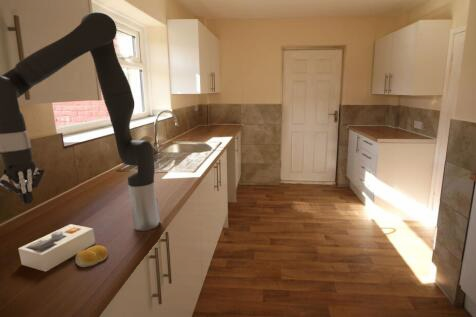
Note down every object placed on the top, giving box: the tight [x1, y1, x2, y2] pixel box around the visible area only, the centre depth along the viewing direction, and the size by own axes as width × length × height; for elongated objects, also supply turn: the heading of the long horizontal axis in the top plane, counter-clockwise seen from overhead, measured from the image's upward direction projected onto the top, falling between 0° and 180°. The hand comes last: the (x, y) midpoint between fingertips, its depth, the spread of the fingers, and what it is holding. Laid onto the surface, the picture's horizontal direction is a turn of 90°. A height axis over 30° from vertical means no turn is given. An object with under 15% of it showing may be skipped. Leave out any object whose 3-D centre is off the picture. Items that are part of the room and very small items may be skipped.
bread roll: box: [75, 244, 109, 268], centre depth 96 cm, size 8×9×4 cm
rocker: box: [27, 239, 55, 250], centre depth 95 cm, size 4×7×1 cm, turn 66°
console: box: [17, 223, 96, 272], centre depth 100 cm, size 18×11×6 cm, turn 156°
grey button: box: [51, 231, 64, 242], centre depth 100 cm, size 3×3×2 cm
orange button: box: [67, 228, 78, 234], centre depth 105 cm, size 3×3×2 cm
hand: (27, 203), depth 93 cm, fingers closed
